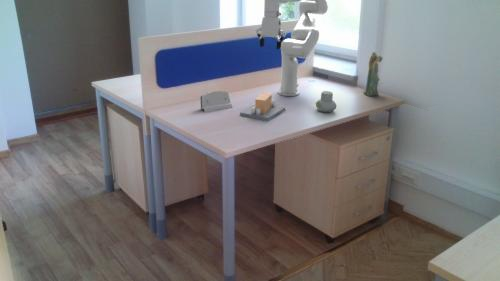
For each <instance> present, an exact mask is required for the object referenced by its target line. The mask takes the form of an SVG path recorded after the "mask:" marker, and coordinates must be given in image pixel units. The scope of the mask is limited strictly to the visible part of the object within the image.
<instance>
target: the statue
mask: <svg viewBox="0 0 500 281" xmlns="http://www.w3.org/2000/svg"><path fill="white" fill-rule="evenodd" d="M382 61H383V56H381V55H377V53H376V52H374V51H373V52H372V53H371V55H370V56H369V61H368V71H367V77H366V86H365V90H363V94H364V95H365V96H367V97H371V96H378V95H379V91H378V85H379V81H380V78H379V74H378V73H379V63H380V62H382Z"/></svg>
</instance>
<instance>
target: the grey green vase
mask: <svg viewBox="0 0 500 281" xmlns="http://www.w3.org/2000/svg"><path fill="white" fill-rule="evenodd" d="M333 95H334V94H333V92H332V91H329V90H323V91H321V94H320V99H318V100H316V102H315V107H316V109H317V110H318V111H319V112H321V113H331V112H333V111H335V110H336V109H337V103H336V102H335V101H334V100H333V98H334V97H333Z"/></svg>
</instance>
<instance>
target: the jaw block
mask: <svg viewBox="0 0 500 281" xmlns="http://www.w3.org/2000/svg"><path fill="white" fill-rule="evenodd" d="M272 96H273V94H272V93H264V92H262V93H261V94H260V95H259V96H257V97H256V99H255V100H254V101H255V103H254V104H255V113H256V111H257V108H260V109H261V111H260V113H261V114H265V113H266V112H267V111H268V110H269V109H270V108H271V100H273V99H272Z"/></svg>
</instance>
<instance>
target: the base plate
mask: <svg viewBox="0 0 500 281" xmlns="http://www.w3.org/2000/svg"><path fill="white" fill-rule="evenodd" d="M275 103H276V101H275V100H274V99H271V108H270V109H269V110H268V111H267V112H266V113H265V114H261V113H260V111H261V109H260V108H257V111H256V113H255V103H254V104H252V105H251V106H249V107H247V108H245V109H243V110H242V111H240V112H239V116H241V117H248V118H253V119H256V120H262V121H265V122H268V121H270V120H272V119H274V118H275V117H276V116H278V115H280V114H281V113H282V112H284V111H286V106H280V105H275Z"/></svg>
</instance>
